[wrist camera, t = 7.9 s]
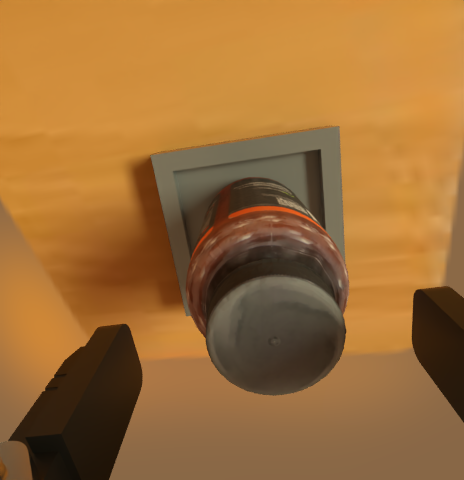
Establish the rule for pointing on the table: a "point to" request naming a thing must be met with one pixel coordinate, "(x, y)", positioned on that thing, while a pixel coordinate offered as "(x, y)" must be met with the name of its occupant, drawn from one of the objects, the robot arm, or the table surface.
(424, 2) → the table surface
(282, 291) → the supplement bottle
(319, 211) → the gray square tray
